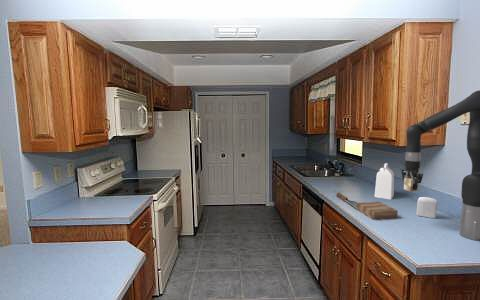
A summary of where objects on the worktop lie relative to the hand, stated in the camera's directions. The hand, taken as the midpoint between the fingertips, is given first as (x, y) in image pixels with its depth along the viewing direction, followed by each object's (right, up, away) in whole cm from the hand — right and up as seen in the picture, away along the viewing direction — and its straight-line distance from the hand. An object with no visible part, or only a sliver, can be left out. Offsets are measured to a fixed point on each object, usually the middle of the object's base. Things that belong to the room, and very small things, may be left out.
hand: (410, 188), depth 161 cm
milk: (+14, -14, +57) cm, 60 cm away
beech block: (0, -1, 0) cm, 1 cm away
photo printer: (+18, -20, +13) cm, 30 cm away
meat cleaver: (-17, -17, +41) cm, 48 cm away
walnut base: (-11, -19, +18) cm, 28 cm away
